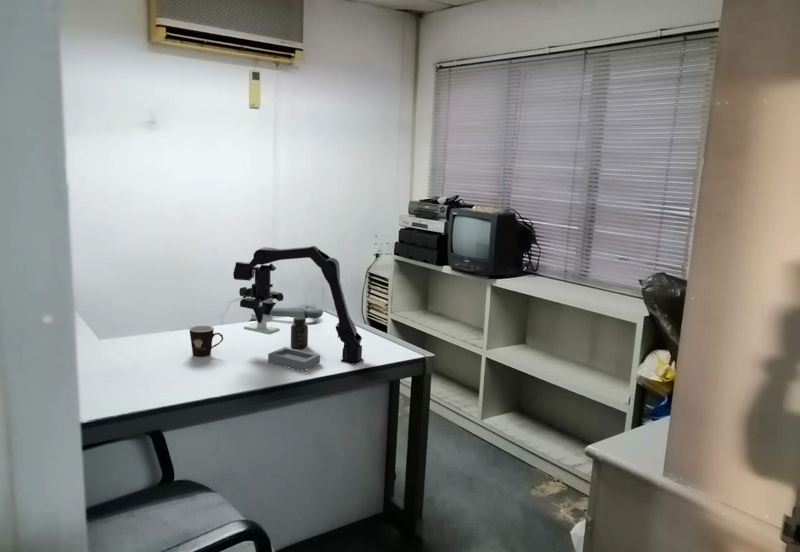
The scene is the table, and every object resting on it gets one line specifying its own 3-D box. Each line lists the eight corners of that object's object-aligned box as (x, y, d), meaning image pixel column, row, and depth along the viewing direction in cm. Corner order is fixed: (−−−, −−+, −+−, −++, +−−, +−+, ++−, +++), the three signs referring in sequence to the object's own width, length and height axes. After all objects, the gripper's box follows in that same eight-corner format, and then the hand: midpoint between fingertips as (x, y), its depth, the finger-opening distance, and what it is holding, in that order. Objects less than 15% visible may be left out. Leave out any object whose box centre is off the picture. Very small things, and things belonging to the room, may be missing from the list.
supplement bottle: (309, 345, 245) (310, 316, 243) (305, 350, 238) (306, 320, 236) (292, 343, 245) (293, 315, 243) (288, 348, 239) (288, 319, 237)
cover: (279, 331, 228) (279, 315, 227) (269, 334, 223) (269, 319, 222) (254, 325, 234) (254, 310, 232) (244, 329, 228) (244, 313, 227)
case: (319, 363, 224) (320, 354, 223) (304, 371, 215) (304, 362, 214) (284, 355, 230) (284, 346, 230) (268, 362, 222) (268, 353, 221)
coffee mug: (184, 355, 224) (184, 329, 222) (201, 349, 232) (201, 324, 230) (207, 361, 219) (207, 334, 217) (224, 355, 227) (224, 329, 225)
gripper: (261, 275, 237) (260, 313, 239) (228, 282, 220) (228, 323, 223) (284, 278, 232) (283, 318, 235) (252, 286, 215) (252, 328, 218)
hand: (261, 321), depth 228 cm, fingers closed on cover, 2 cm apart
